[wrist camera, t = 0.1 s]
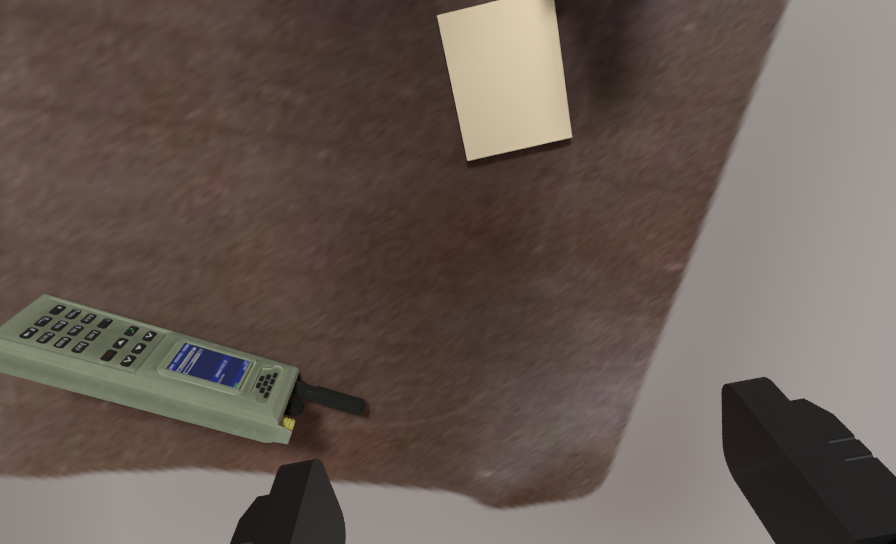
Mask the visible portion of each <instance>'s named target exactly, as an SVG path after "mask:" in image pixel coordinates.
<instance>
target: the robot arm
mask: <svg viewBox="0 0 896 544" xmlns="http://www.w3.org/2000/svg"><path fill="white" fill-rule="evenodd" d="M722 436H723V437H722V439H723V451H724V456H725V460H726V463H727V465H728V468H729V470H730V473H731V475H732V477H733V478H734V480H735V482H736V483H737V485H738V486H739V488H740V489H741V491H742V492H743V494H744V496H745V497H746V499H747V500H748V502H749V503H750V505H751V506H752V508H753V509H754V511H755V513H756V514H757V516H758V517H759V519H760V520H761V522H762V523H763V525H764V527H765V528H766V530H767V531H768V533H769V534H770V536H771V537H772V539H773V541H774V542H775V543H776V544H896V477H895V475H893V473H892V472H891V471H889V469H888V468H886V466H884V464H883V463H882V462H881V461H880V460H879V459H878V458H874V457H873V455H872V453H871V451H870V450H869V449H868V448H867V447H865V445H864V444H863V443H861V441H860V440H856V439H855V437H854V434H852V433H851V431H850V430H848V428H846V426H845V425H844V424H843V423H841V422H840V421H839V419H838V418H837V417H836V416H834V414H832V413H830V412H828V411H826V410H824V409H823V408H821V407H819V406H817V405H815V404H813V403H811V402H810V401H808V400H806V399H804V398H803V399H798V400H793V401H790V400H789V399H788V398H787V397H786V396H785V395H784V394H783V393H782V392H781V391H780V389H779V388H778V387H776V385H775V384H774V383H773V382H772V381H771V380H770V379H768V378H766V377H761V378H755V379H751V380H745V381H739V382H734V383H729V384H725V385H724V386H723V388H722ZM345 538H346V535H345V522H344V517H343V513H342V510H341V508H340V505H339V503H338V500H337V498H336V495H335V493H334V490H333V488H332V485H331V483H330V480H329V478H328V475H327V473H326V470H325V468H324V465H323V463H322V462H321V461H320V460H319V459H313V460H307V461H302V462H297V463H291V464H286V465H282V466H281V467H280V468H279V469H278V471H277V474H276V477H275V480H274V483H273V486H272V488H271V491H270V494H269V495H265V496H259V497H257V498H256V499H255V501H254V502H253V503H252V504H251V506H250V507H249V508H248V510H247V511H246V512H245V513H244V515H243V516H242V517H241V518H240V520H239V522H238V524H237V527H236V530H235V532H234V535H233V537H232V540H231V543H230V544H345V540H346V539H345Z"/></svg>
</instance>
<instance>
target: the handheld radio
mask: <svg viewBox="0 0 896 544" xmlns="http://www.w3.org/2000/svg"><path fill="white" fill-rule="evenodd" d="M0 372H2V373H6V374H9V375H13V376H17V377H21V378H24V379H28V380H32V381H35V382H39V383H43V384H47V385H50V386H54V387H58V388H62V389H65V390H69V391H73V392H77V393H80V394H84V395H88V396H92V397H95V398H99V399H103V400H107V401H110V402H114V403H118V404H122V405H125V406H129V407H133V408H137V409H140V410H144V411H148V412H152V413H155V414H159V415H163V416H166V417H170V418H174V419H178V420H181V421H185V422H189V423H193V424H196V425H200V426H204V427H208V428H211V429H215V430H219V431H223V432H226V433H230V434H234V435H238V436H241V437H245V438H249V439H253V440H256V441H260V442H264V443H272V442H278V443H283V444H288V442H289V440H290V437H291V434H292V430H293V427H294V424H295V420H294V419H293V420H292V419H291V418H290V419H288V417H286V418H285V417H284V416H283V415H288V416H289V415H291V416H299V415H300V414H301V413H302V411H303V408H304V406H303V403H302V402H301V401H300V400H297V399H294V398H292V397H296V398H299V399H301V398H304V399H308V400H311V401H312V402H315V403H318V404H322V405H325V406H329V407H332V408H335V409H339V410H342V411H346V412H349V413H353V414H356V415H360V414H361V412H362V411H363V408H364V399H361V398H357V397H354V396H350V395H347V394H343V393H340V392H336V391H333V390H329V389H326V388H323V387H319V386H317V387H314V386H311V385H307V384H306V383H305V382H302V381H298V380H297V377H298V374H299V369H298V368H296V367H294V366H291V365H287V364H284V363H281V362H277V361H274V360H270V359H267V358H263V357H260V356H257V355H253V354H250V353H246V352H243V351H240V350H236V349H233V348H229V347H226V346H222V345H219V344H216V343H212V342H209V341H205V340H202V339H198V338H195V337H192V336H188V335H185V334H181V333H178V332H174V331H171V330H168V329H164V328H161V327H157V326H154V325H150V324H147V323H144V322H140V321H137V320H133V319H130V318H127V317H123V316H120V315H116V314H113V313H109V312H106V311H103V310H99V309H96V308H92V307H89V306H85V305H82V304H79V303H75V302H72V301H68V300H65V299H61V298H58V297H55V296H51V295H48V294H43V295H41V296H40V297H39V298H37V299H36V300H35V301H33V302H32V303H31V304H29V305H28V306H27V307H25V308H24V309H23V310H21V311H20V312H19V313H17V314H16V315H15V316H13V317H12V318H11V319H9V320H8V321H7V322H5V323H4V324H3V325H1V326H0ZM290 396H292V397H290ZM290 398H291V399H290ZM292 399H294V400H292ZM292 401H293V403H292ZM288 403H289V404H288ZM287 404H288V405H287ZM290 404H292V405H290ZM290 407H291V408H290ZM286 408H287V409H286ZM289 409H290V410H289ZM285 410H286V411H285ZM288 411H289V412H288Z"/></svg>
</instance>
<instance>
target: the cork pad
mask: <svg viewBox="0 0 896 544" xmlns="http://www.w3.org/2000/svg"><path fill="white" fill-rule="evenodd" d="M437 18H438V23H439V28H440V33H441V37H442V42H443V47H444V52H445V56H446V61H447V66H448V71H449V76H450V80H451V85H452V90H453V95H454V100H455V104H456V109H457V114H458V119H459V124H460V128H461V133H462V138H463V143H464V147H465V152H466V157H467V161H470V160H474V159H478V158H483V157H487V156H492V155H496V154H501V153H505V152H510V151H514V150H518V149H523V148H527V147H532V146H536V145H541V144H545V143H550V142H554V141H559V140H563V139H567V138H572V133H571V125H570V118H569V110H568V102H567V95H566V87H565V79H564V72H563V64H562V56H561V49H560V41H559V33H558V26H557V18H556V11H555V3H554V0H498V1H494V2H490V3H486V4H482V5H478V6H474V7H469V8H465V9H461V10H457V11H453V12H449V13H445V14H441V15H437Z"/></svg>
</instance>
